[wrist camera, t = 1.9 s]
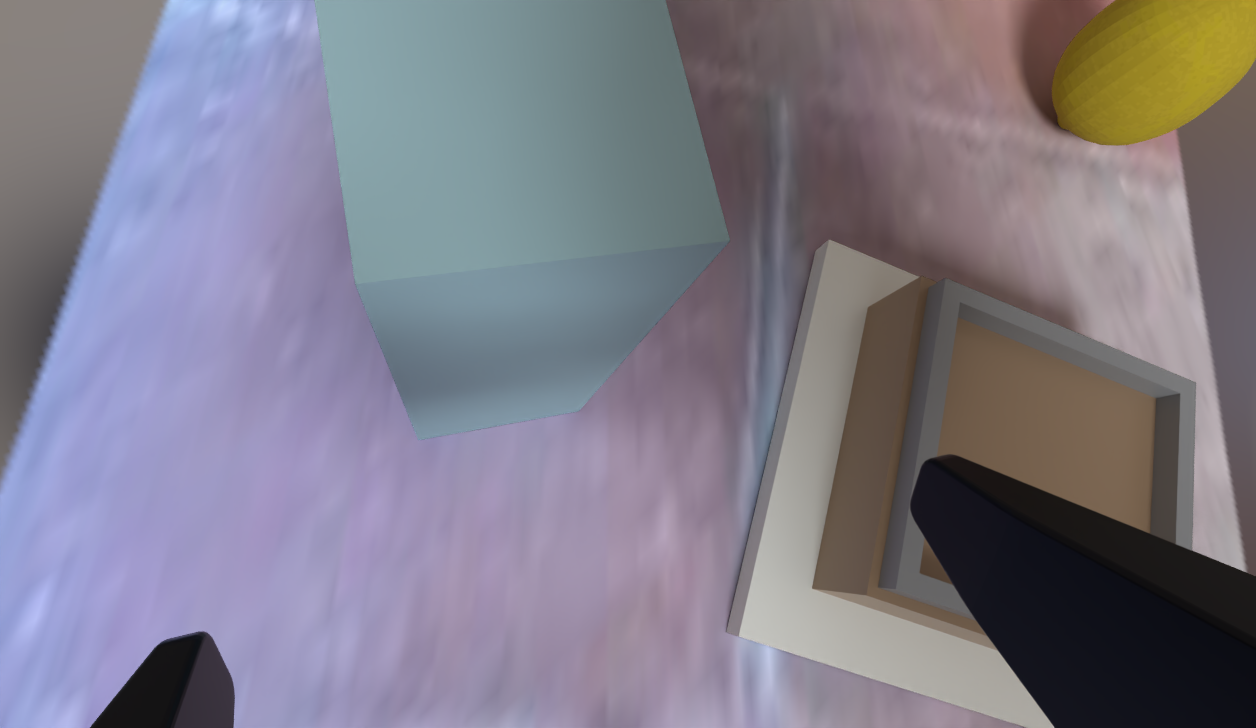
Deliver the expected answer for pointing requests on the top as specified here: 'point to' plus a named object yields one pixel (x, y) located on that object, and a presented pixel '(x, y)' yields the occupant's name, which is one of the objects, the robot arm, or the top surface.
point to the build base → (802, 508)
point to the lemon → (1151, 67)
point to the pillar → (514, 194)
